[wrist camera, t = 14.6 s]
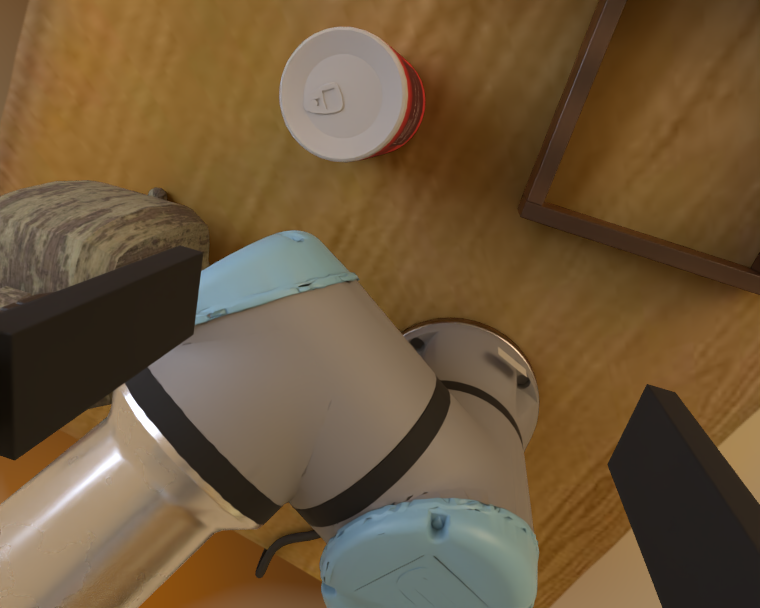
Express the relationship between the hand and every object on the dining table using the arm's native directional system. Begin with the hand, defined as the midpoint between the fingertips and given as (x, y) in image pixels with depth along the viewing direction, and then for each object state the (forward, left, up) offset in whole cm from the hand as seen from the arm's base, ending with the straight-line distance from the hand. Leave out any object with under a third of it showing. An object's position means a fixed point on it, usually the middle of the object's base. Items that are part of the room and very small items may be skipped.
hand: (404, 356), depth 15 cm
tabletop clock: (-12, +23, -30) cm, 39 cm away
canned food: (+6, +9, -30) cm, 31 cm away
